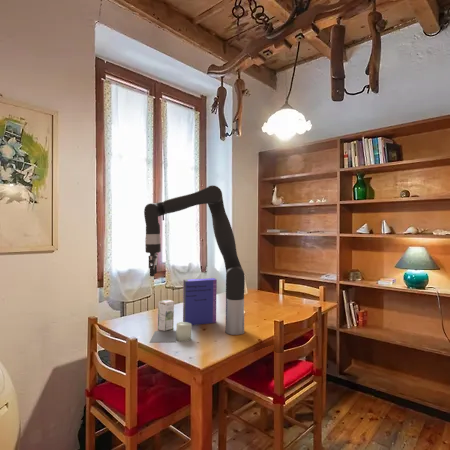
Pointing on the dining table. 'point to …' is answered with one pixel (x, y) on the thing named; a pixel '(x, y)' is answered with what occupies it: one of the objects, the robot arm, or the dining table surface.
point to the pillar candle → (183, 331)
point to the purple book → (199, 301)
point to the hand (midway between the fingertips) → (153, 274)
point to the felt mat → (164, 336)
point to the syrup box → (165, 315)
